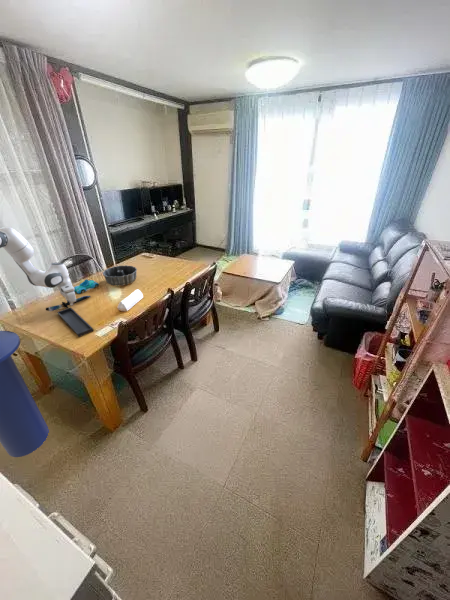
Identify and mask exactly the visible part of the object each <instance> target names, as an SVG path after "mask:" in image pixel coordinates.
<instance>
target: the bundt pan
mask: <svg viewBox="0 0 450 600" xmlns="http://www.w3.org/2000/svg"><path fill="white" fill-rule="evenodd" d="M137 272H138V269H137V267H136V266H133V265H128V264H127V265H117V266H112V267H108V268H107V269H104V270H103V272H102V276H103V277H104V279H105V281H106V283H107V284H108V285H110V286H116V287H119V286H120V287H122V286H123V287H124V286H128V285H129V284H130V285H131V284H132V283H133V282H135V281H136V279H137Z"/></svg>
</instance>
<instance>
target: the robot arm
mask: <svg viewBox="0 0 450 600" xmlns="http://www.w3.org/2000/svg"><path fill="white" fill-rule="evenodd" d="M1 248H3V250H4V251H5V252H6V253H7V254H8V255H9V256H10V257H11V258H12V259H13V261H14V262H15V263H16V264H17V266H18V267H19V268H20V269H21V271H22V272H23V273H24V274H25V275H26V278H27V280H28V282H29V283H30V285H32V286H35V287H44V288H50V289H53V288H56V289H57V291H59V293H60V295H61V296H62V297H63V298H64V299H65V300H66V303H67V302H68V301H69V304H70V305H69V306H73V305H74V304H73V303H74V302H76V299H77V297H76V296H77V295H76V292H74V290H75V289H74V287H75V286H73V283H72V279H71V278H70V275H69V271H68V267H67V266H66V264H65V263H63V262H51V263H50V264H49V267H48V269H46V271H45V270H41V269H38V268H37V267H36V266H35V265H34V264H33V263H32V262H31V259H32V257H33V256H34V254H35V249H34V248H33V246H32V245H31V243H30V242H29V241H28V240H27V239H26V238H25V237H24V236H23V235H22V234H21V233H20V232H19V231H17V230H16V229H14V228H13V227H12V226H11V227H10V226H3V227H0V249H1Z"/></svg>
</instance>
